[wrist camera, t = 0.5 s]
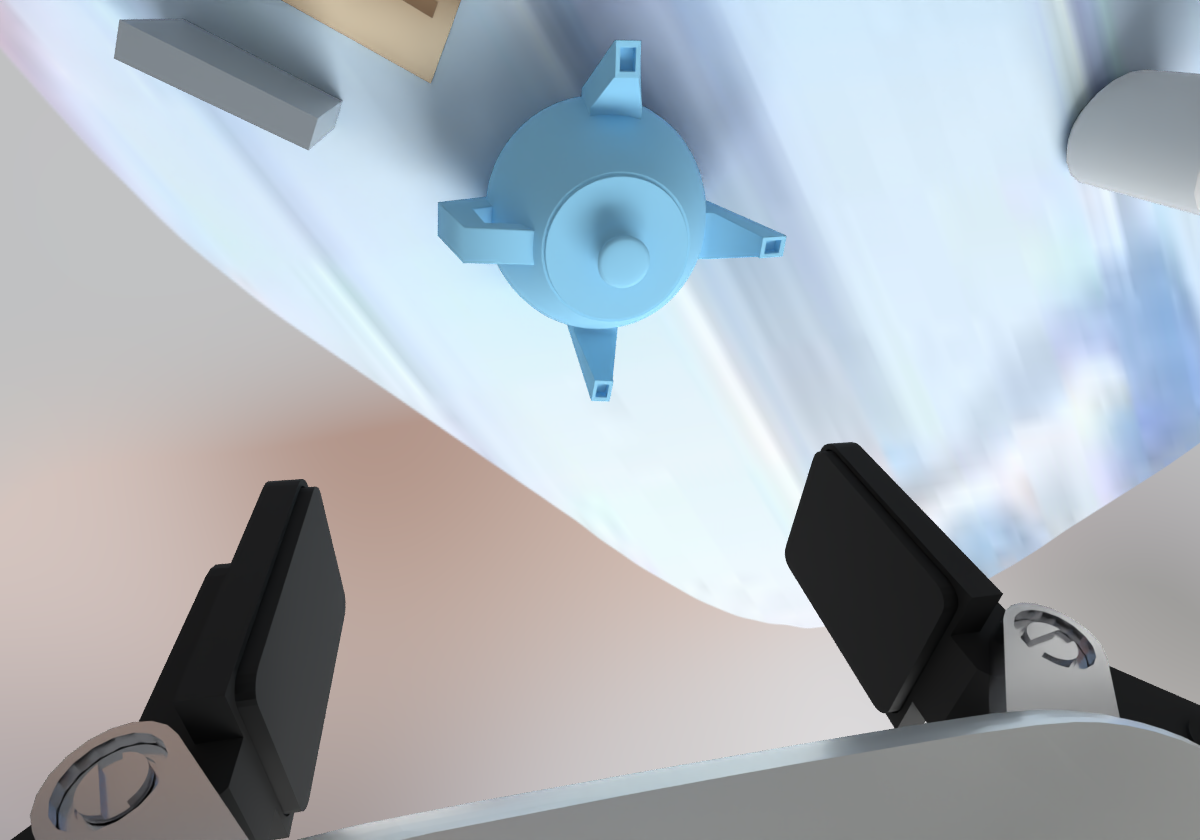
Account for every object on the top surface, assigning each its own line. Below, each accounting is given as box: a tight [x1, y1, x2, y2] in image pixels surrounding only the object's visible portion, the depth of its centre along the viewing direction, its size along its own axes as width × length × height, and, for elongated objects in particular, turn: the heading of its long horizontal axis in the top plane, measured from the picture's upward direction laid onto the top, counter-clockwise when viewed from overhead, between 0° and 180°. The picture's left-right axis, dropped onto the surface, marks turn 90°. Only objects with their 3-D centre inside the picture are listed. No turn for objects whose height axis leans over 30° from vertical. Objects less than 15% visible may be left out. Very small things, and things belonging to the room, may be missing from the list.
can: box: [1066, 70, 1200, 215], centre depth 39 cm, size 8×8×12 cm
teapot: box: [438, 40, 786, 401], centre depth 36 cm, size 15×15×11 cm
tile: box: [114, 19, 342, 150], centre depth 30 cm, size 2×8×7 cm, turn 61°
